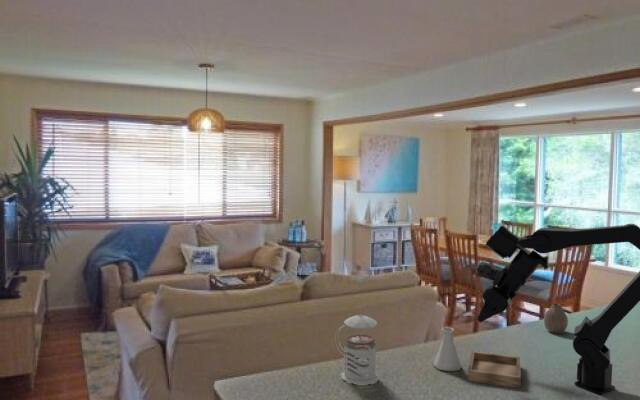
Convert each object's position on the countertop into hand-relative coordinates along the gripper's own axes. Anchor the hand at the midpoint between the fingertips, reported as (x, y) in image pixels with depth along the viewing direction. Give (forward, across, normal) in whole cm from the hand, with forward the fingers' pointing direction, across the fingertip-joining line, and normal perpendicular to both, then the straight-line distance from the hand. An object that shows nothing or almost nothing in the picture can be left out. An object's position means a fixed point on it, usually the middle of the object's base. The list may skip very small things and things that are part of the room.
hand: (482, 316), depth 133 cm
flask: (+15, +5, +1) cm, 16 cm away
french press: (+25, +23, -14) cm, 37 cm away
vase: (+3, -41, +20) cm, 45 cm away
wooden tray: (+9, +4, +11) cm, 14 cm away
